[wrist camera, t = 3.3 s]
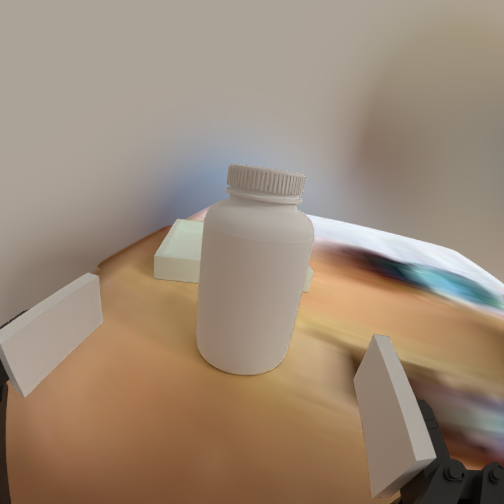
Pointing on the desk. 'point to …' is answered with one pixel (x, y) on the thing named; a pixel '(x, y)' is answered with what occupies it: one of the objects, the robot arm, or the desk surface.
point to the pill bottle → (252, 270)
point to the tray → (188, 254)
